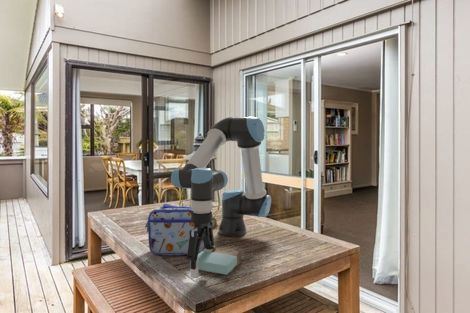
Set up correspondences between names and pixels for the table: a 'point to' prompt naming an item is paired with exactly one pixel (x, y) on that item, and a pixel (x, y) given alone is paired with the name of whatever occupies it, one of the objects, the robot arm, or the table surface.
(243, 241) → the table surface
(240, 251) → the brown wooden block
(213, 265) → the teal rectangular block
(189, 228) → the lunch box
